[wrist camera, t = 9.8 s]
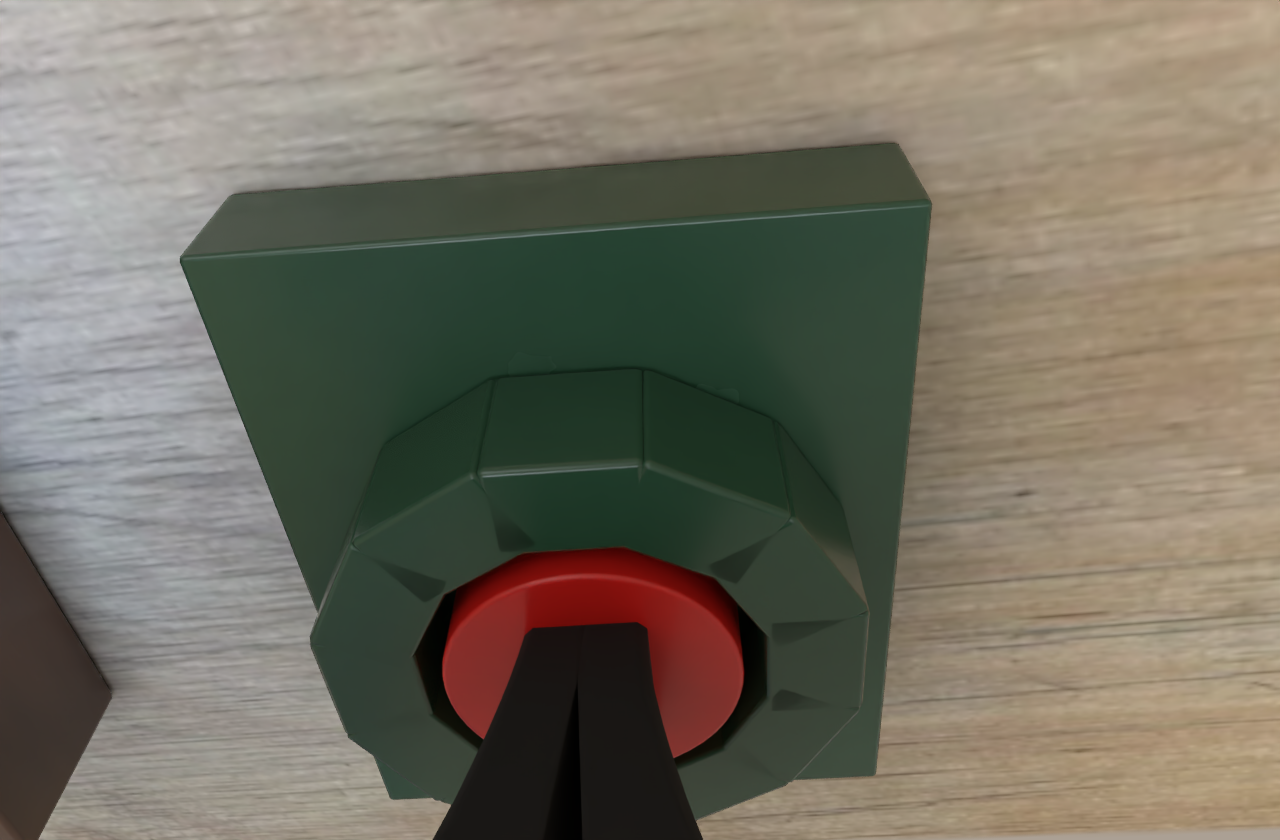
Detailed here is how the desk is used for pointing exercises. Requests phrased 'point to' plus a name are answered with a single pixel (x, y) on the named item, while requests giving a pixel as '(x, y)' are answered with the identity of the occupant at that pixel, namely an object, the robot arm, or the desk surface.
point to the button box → (588, 421)
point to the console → (39, 696)
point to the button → (600, 594)
